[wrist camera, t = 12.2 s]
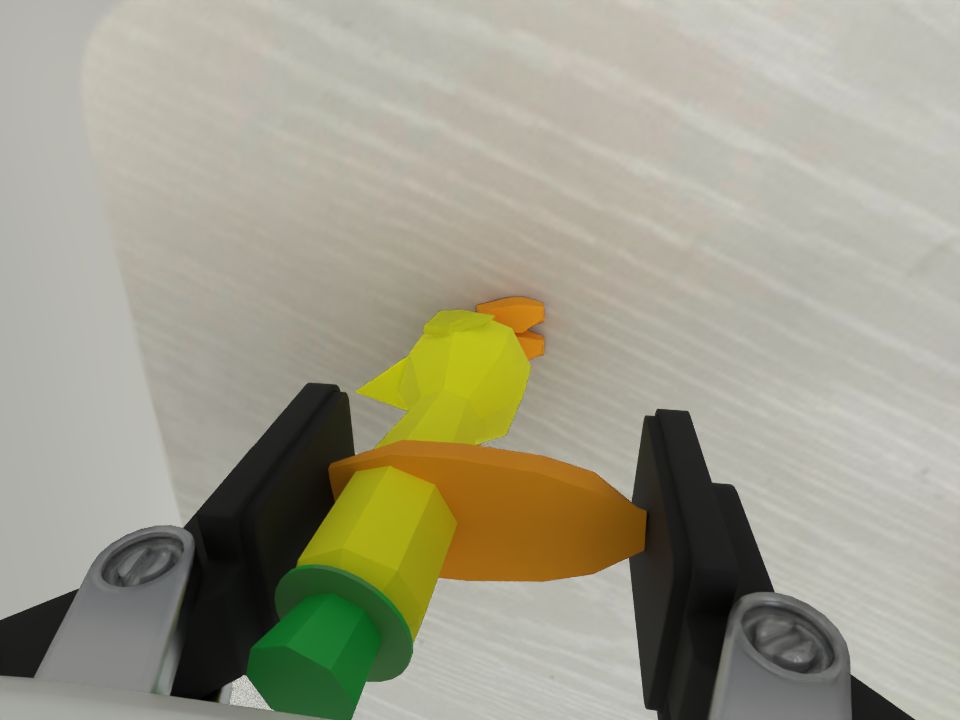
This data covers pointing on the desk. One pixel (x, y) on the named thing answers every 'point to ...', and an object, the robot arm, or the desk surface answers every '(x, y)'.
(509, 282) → the desk surface
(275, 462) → the robot arm
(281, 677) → the toy figure
